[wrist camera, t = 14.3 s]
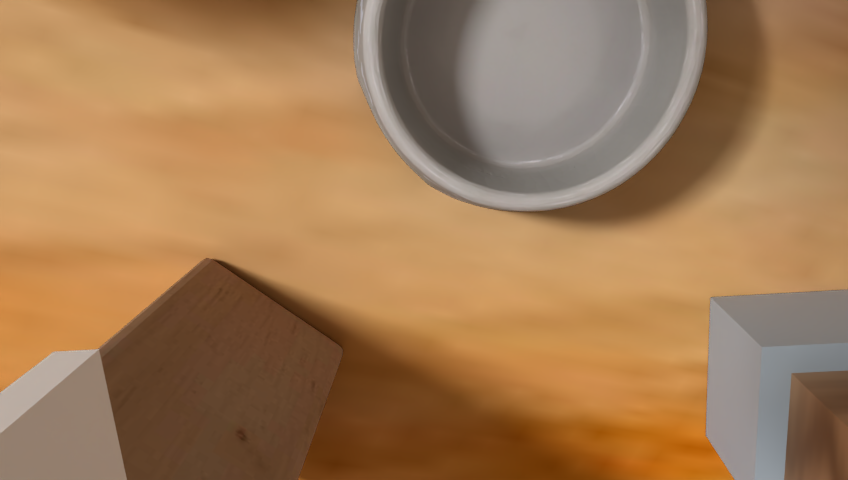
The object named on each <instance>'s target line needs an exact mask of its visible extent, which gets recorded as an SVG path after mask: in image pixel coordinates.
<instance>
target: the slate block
mask: <svg viewBox="0 0 848 480" xmlns="http://www.w3.org/2000/svg"><path fill="white" fill-rule="evenodd" d="M847 370H848V290H832V291H814V292H796V293H778V294H760V295H742V296H724V297H711V298H710V327H709V356H708V385H707V414H706V436H707V438H708V439H709V441H710V442H711V444H712V446H713V447H714V449H715V450H716V452H717V453H718V455H719V456H720V458H721V459H722V461H723V462H724V464H725V465H726V467H727V469H728V470H729V472H730V473H731V475H732V476H733V478H734V479H735V480H784V474H785V460H786V445H787V431H788V416H789V402H790V388H791V373H806V372H826V371H847Z"/></svg>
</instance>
